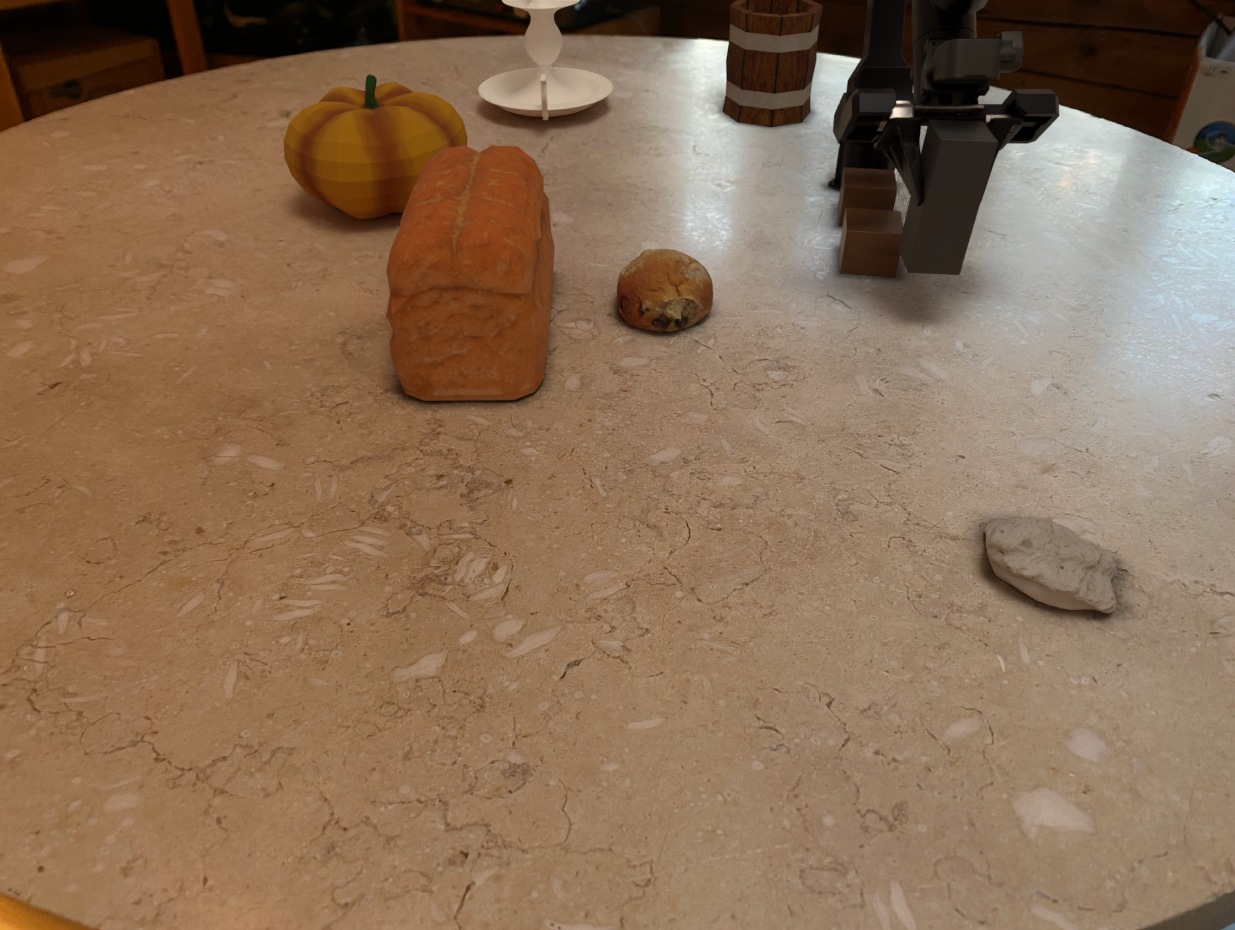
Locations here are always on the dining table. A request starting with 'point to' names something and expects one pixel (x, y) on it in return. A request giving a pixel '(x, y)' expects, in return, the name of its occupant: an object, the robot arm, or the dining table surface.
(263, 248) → the dining table surface
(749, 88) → the mug
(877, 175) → the block
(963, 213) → the tall block
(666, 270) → the bread roll
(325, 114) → the decorative pumpkin
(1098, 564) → the stone
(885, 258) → the block
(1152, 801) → the dining table surface
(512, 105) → the candlestick
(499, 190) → the bread
